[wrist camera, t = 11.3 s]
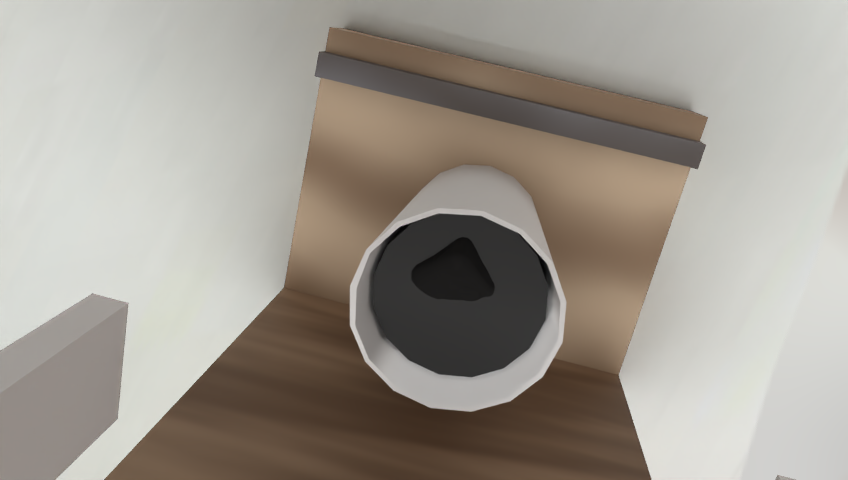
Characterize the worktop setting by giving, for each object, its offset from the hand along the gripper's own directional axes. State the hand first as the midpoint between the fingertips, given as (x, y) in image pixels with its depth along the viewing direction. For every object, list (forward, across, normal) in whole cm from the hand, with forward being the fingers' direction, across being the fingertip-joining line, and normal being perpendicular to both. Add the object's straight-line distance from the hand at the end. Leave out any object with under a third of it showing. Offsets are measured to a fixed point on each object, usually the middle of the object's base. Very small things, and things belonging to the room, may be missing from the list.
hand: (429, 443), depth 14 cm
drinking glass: (+18, 0, 0) cm, 18 cm away
